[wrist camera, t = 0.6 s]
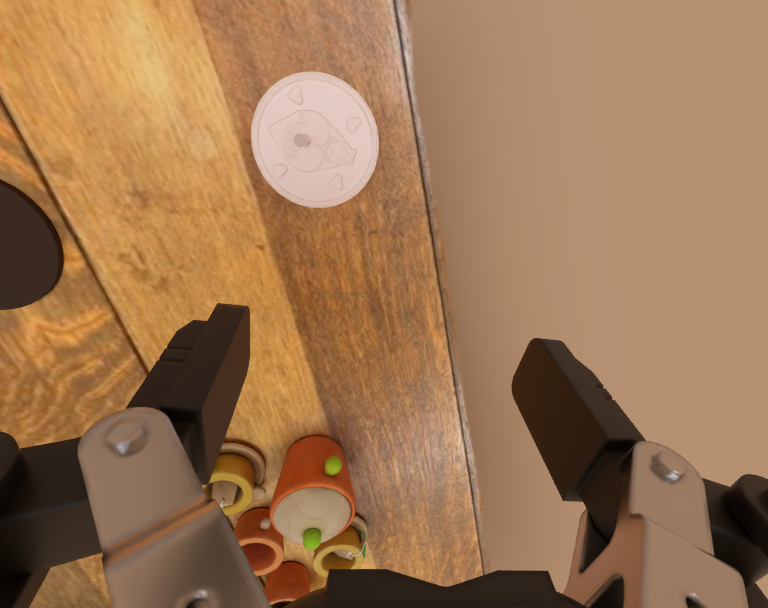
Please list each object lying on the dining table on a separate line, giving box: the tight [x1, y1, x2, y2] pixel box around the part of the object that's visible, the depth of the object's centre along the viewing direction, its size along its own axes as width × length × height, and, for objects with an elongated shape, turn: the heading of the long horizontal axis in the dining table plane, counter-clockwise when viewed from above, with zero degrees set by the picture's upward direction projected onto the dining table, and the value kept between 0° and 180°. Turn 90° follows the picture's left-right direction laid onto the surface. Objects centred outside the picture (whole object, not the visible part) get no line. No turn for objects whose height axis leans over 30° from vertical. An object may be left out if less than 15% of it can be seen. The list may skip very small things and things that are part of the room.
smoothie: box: [251, 72, 379, 208], centre depth 21 cm, size 6×6×14 cm
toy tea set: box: [202, 436, 368, 608], centre depth 38 cm, size 26×16×10 cm, turn 11°
